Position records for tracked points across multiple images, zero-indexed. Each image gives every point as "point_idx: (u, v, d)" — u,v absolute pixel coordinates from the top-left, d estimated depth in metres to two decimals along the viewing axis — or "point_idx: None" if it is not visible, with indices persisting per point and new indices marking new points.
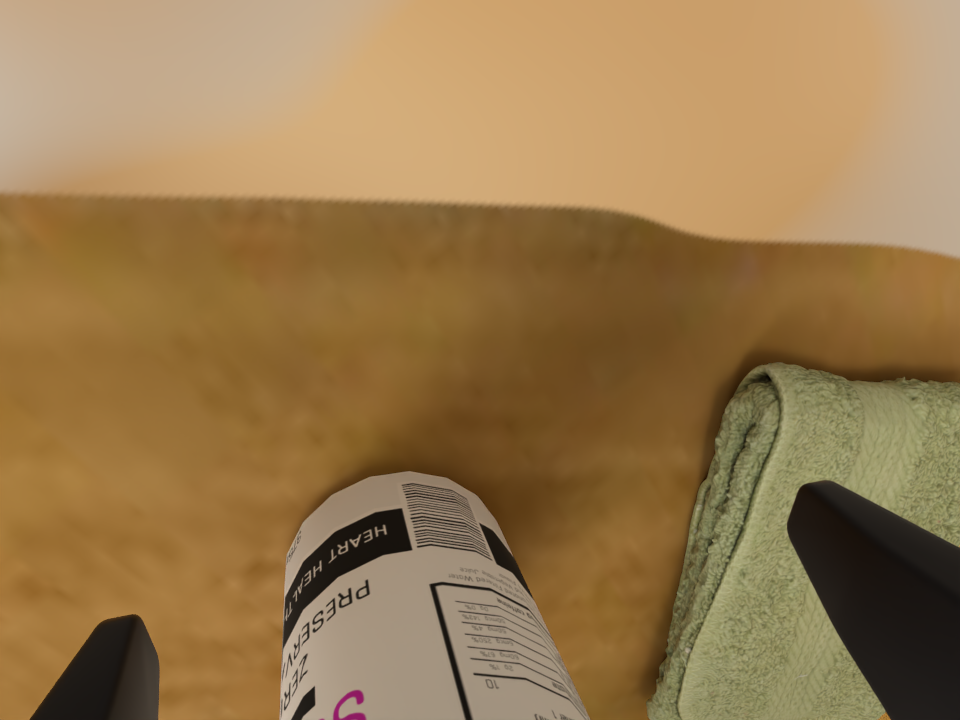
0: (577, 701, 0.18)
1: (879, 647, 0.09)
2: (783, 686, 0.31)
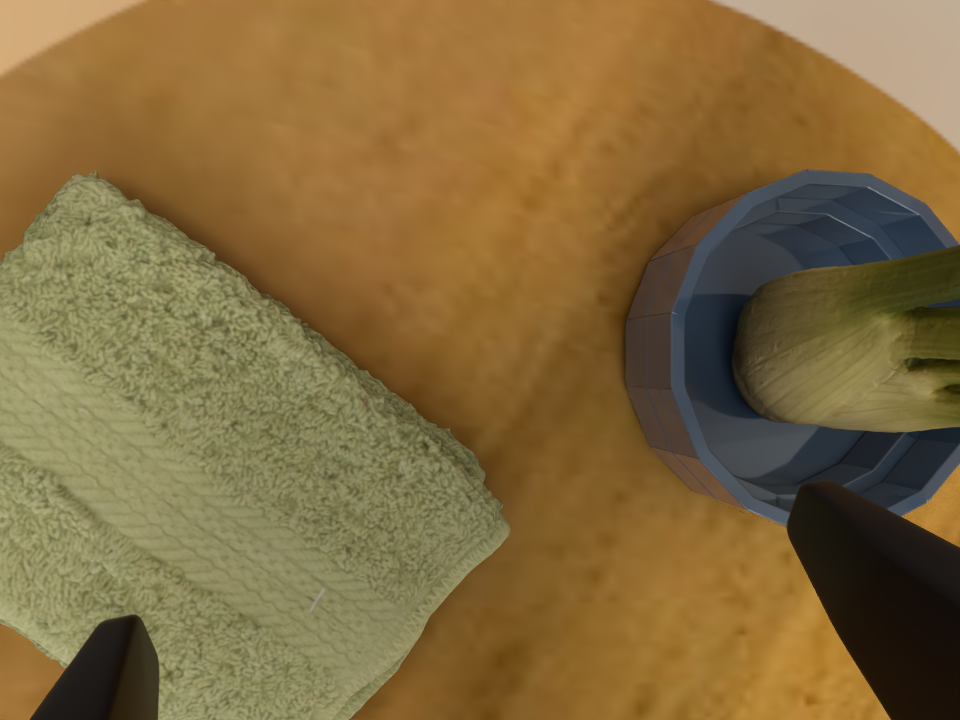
0: None
1: (879, 647, 0.09)
2: (304, 632, 0.21)
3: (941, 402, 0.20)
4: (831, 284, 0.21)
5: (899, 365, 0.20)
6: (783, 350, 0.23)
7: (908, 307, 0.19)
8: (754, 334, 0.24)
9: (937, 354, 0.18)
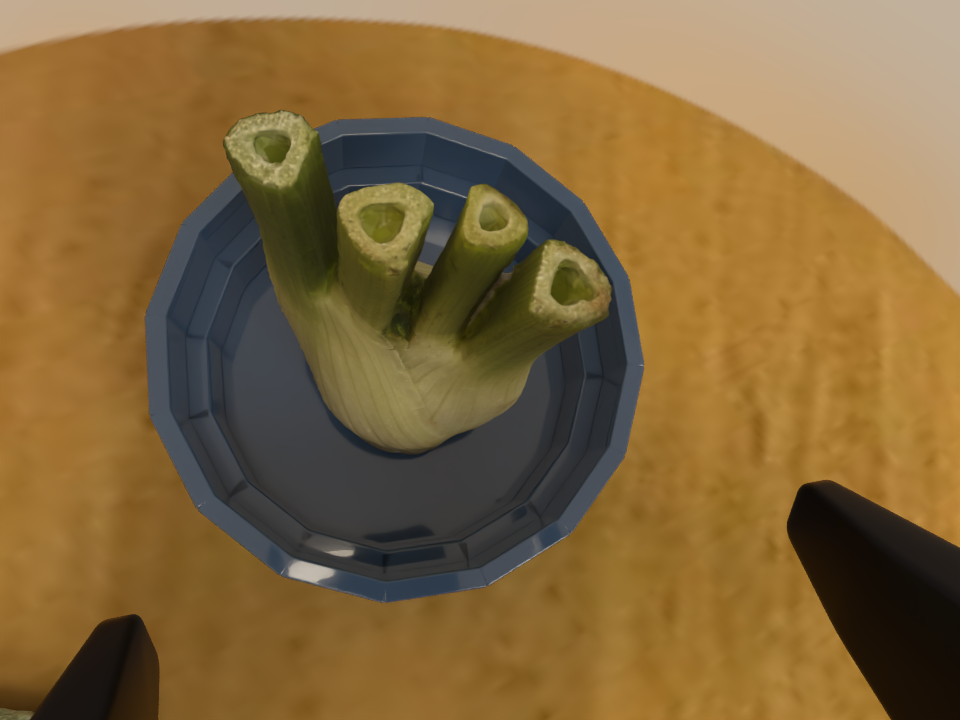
0: None
1: (879, 647, 0.09)
2: None
3: (466, 360, 0.14)
4: (275, 284, 0.15)
5: (392, 341, 0.14)
6: (321, 381, 0.17)
7: (307, 273, 0.12)
8: None
9: (376, 313, 0.12)
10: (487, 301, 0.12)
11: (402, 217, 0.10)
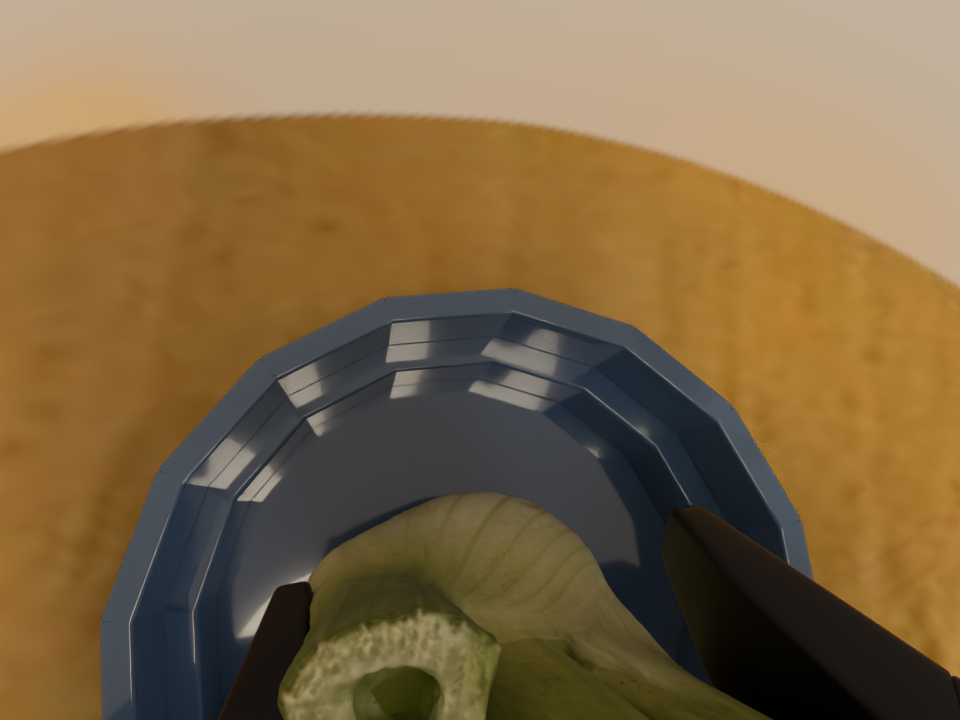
0: None
1: (736, 683, 0.09)
2: None
3: None
4: None
5: None
6: None
7: None
8: None
9: None
10: None
11: None
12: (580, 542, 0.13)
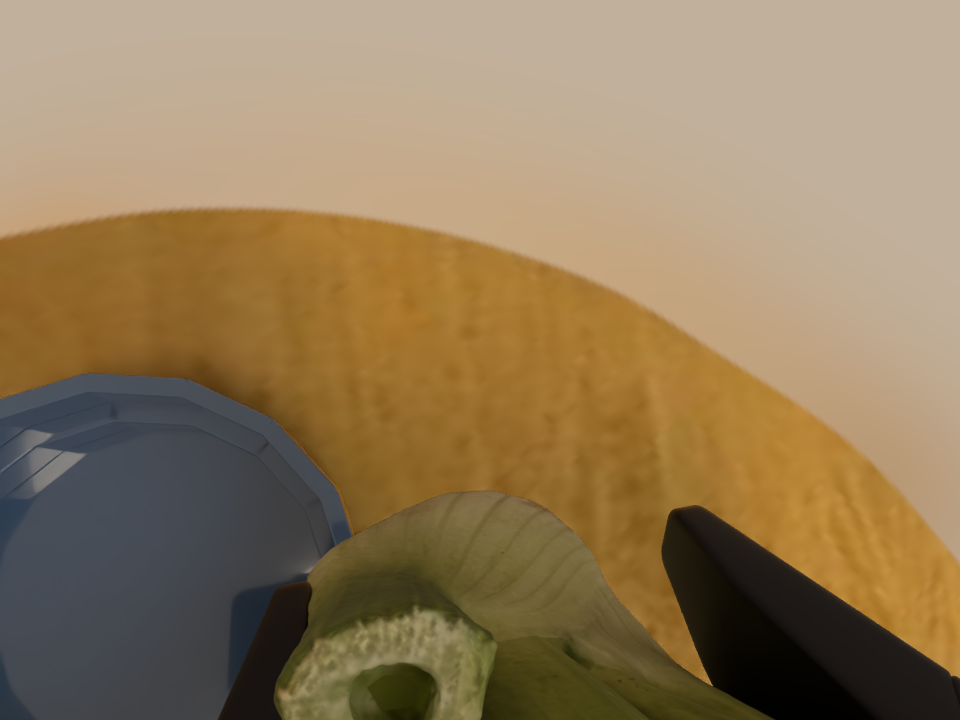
0: None
1: (736, 683, 0.09)
2: None
3: None
4: None
5: None
6: None
7: None
8: None
9: None
10: None
11: None
12: (579, 541, 0.13)
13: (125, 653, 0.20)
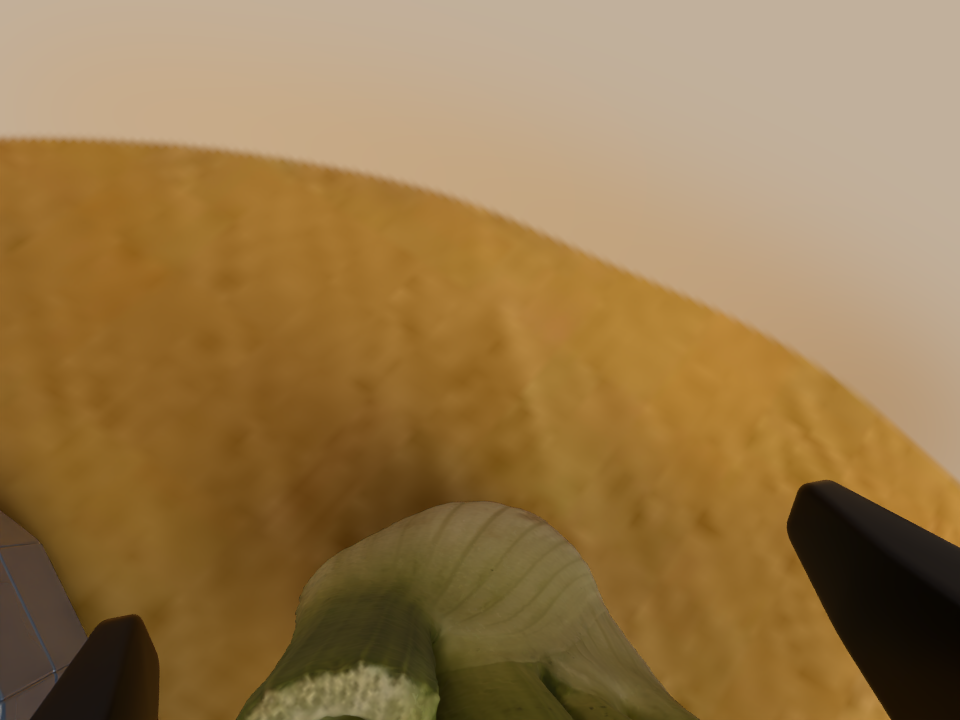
0: None
1: (879, 647, 0.09)
2: None
3: None
4: None
5: None
6: None
7: None
8: None
9: None
10: None
11: None
12: (574, 555, 0.13)
13: None
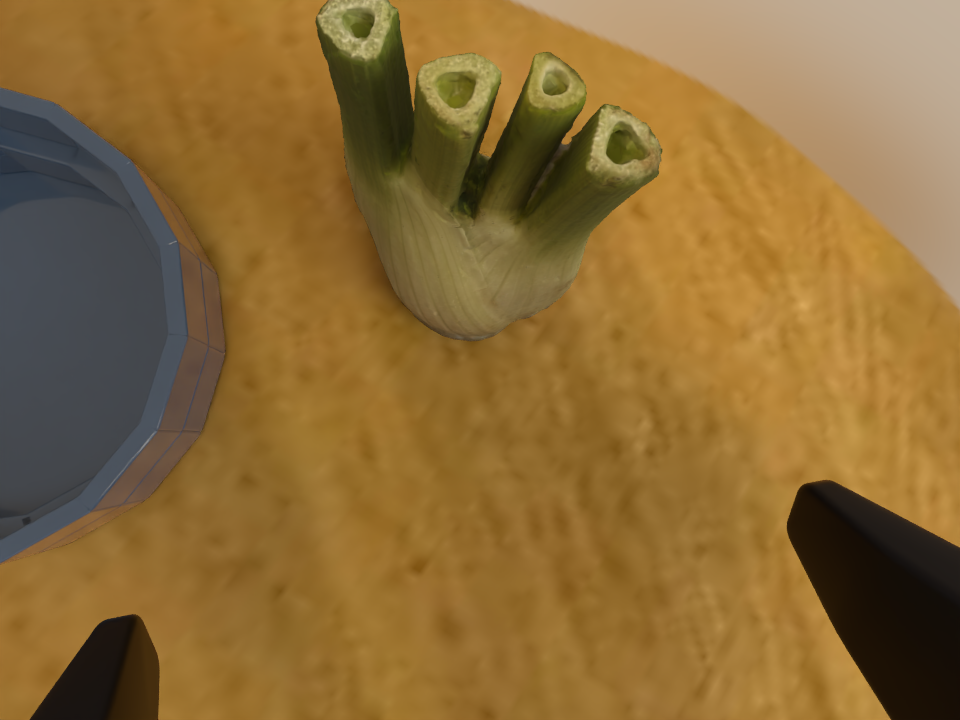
0: None
1: (879, 647, 0.09)
2: None
3: (526, 234, 0.15)
4: (351, 170, 0.16)
5: (459, 219, 0.15)
6: (392, 266, 0.18)
7: (384, 152, 0.14)
8: (382, 262, 0.20)
9: (445, 187, 0.14)
10: (546, 175, 0.14)
11: (473, 86, 0.11)
12: None
13: None
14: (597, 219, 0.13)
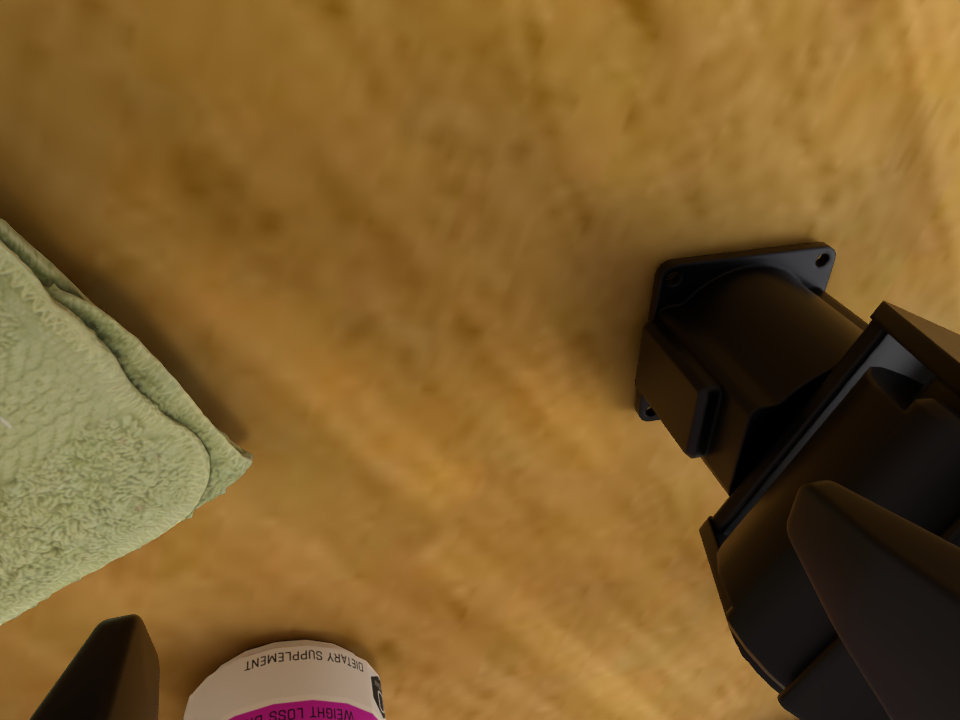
0: None
1: (879, 647, 0.09)
2: (35, 437, 0.18)
3: None
4: None
5: None
6: None
7: None
8: None
9: None
10: None
11: None
12: None
13: None
14: None
